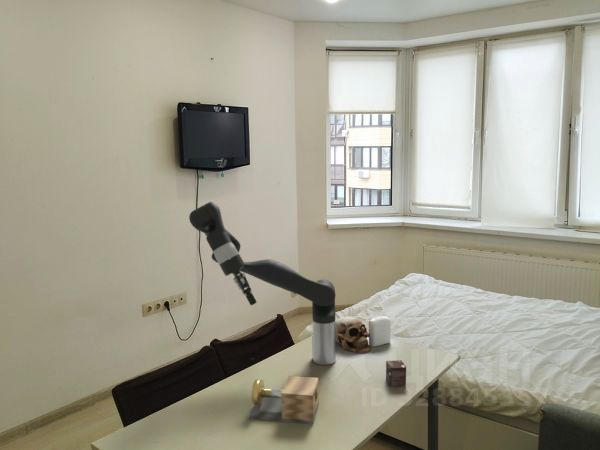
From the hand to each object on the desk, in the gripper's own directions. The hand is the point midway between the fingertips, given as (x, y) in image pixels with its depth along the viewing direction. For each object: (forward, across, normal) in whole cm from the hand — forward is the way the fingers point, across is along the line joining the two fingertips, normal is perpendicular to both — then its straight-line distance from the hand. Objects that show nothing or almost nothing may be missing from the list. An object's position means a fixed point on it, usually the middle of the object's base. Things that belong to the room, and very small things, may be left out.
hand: (253, 304), depth 159 cm
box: (+51, -13, +32) cm, 62 cm away
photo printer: (+45, -47, +43) cm, 78 cm away
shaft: (+33, -2, -8) cm, 34 cm away
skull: (+39, -48, +32) cm, 70 cm away
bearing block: (+36, -2, -8) cm, 37 cm away
